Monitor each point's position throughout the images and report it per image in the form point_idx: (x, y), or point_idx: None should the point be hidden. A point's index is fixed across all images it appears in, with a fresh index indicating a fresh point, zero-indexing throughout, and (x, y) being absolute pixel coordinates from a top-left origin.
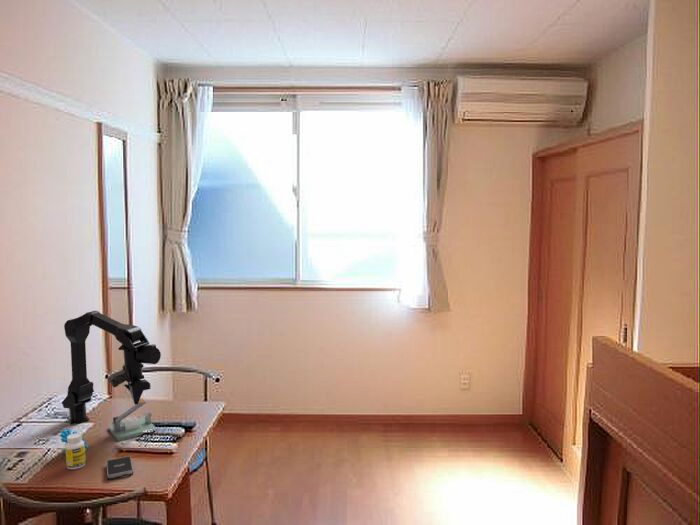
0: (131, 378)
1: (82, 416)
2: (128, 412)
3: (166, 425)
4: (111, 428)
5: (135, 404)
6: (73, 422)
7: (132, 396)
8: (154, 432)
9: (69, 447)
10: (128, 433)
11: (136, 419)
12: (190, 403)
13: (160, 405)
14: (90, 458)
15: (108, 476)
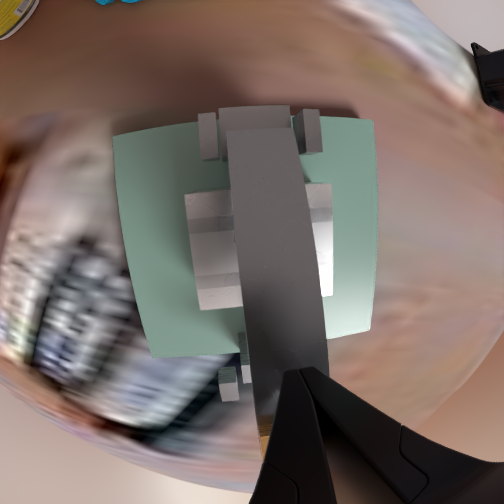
0: None
1: (494, 75)
2: (248, 258)
3: (211, 392)
4: None
5: (283, 374)
6: (477, 51)
7: (344, 437)
8: (144, 335)
9: None
10: (144, 204)
11: (235, 293)
12: None
13: (445, 373)
14: (31, 40)
15: None
